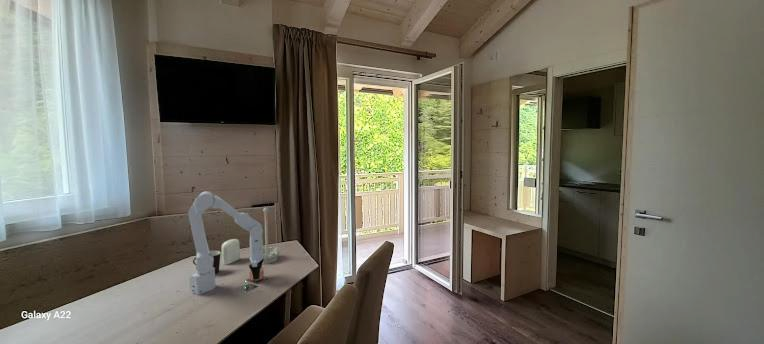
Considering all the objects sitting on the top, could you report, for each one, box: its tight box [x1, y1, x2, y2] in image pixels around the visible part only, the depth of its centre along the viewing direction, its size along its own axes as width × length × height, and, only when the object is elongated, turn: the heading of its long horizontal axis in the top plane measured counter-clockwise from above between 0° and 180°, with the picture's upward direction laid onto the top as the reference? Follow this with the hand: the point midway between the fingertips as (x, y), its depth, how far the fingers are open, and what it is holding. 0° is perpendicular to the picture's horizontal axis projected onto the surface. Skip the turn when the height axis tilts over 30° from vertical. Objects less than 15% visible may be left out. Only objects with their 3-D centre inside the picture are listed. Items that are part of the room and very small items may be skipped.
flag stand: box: [262, 207, 280, 264], centre depth 175 cm, size 13×13×30 cm
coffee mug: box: [192, 250, 222, 275], centre depth 158 cm, size 12×9×10 cm
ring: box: [249, 267, 265, 281], centre depth 148 cm, size 6×6×4 cm
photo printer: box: [220, 238, 241, 266], centre depth 173 cm, size 10×4×12 cm, turn 160°
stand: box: [235, 279, 259, 294], centre depth 140 cm, size 7×7×4 cm
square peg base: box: [246, 275, 269, 285], centre depth 148 cm, size 7×7×4 cm
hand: (257, 276), depth 148 cm, fingers closed on ring, 6 cm apart
